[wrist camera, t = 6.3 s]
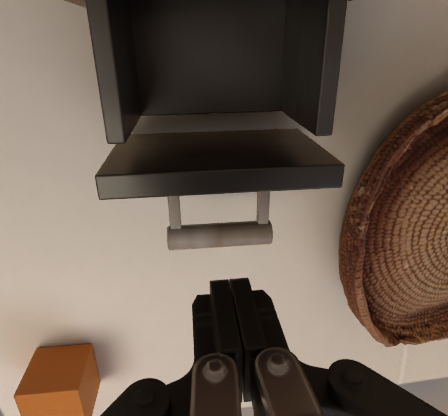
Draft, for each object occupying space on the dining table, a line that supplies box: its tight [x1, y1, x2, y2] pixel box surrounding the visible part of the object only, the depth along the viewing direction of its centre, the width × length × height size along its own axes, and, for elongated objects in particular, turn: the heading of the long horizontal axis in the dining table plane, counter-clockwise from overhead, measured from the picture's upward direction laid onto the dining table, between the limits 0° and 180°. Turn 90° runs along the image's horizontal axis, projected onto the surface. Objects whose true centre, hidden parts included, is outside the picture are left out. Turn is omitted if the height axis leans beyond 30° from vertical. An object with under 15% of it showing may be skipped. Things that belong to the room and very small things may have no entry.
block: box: [14, 344, 100, 416], centre depth 29 cm, size 5×5×5 cm
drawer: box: [85, 0, 347, 250], centre depth 18 cm, size 17×11×8 cm
